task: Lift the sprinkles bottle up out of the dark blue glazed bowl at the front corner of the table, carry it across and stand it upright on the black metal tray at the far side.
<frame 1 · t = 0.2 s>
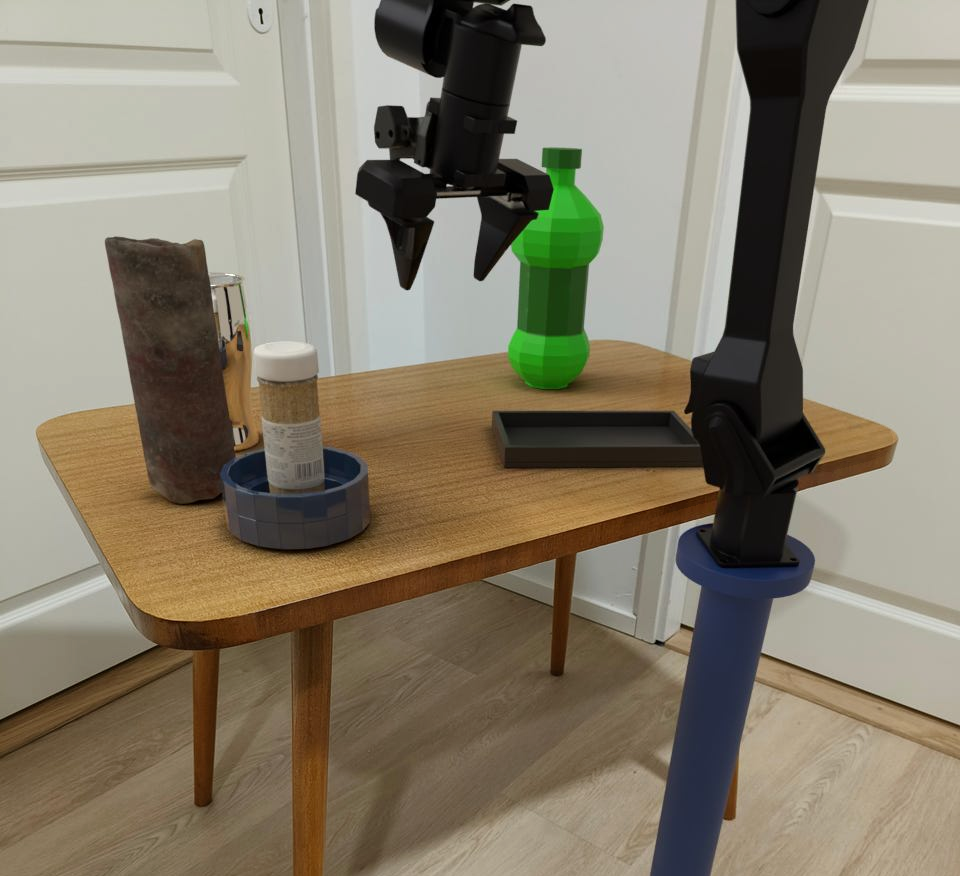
hand: (442, 283, 83), 14 cm above the table, tool pointing down, fingers open, 9 cm apart
bowl: (299, 522, 71), on the table
sprinkles bottle: (299, 521, 71), resting on bowl
plastic bottle: (546, 384, 108), on the table
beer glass: (227, 443, 87), on the table
brown stone pillar: (195, 490, 77), on the table
tray: (593, 447, 89), on the table
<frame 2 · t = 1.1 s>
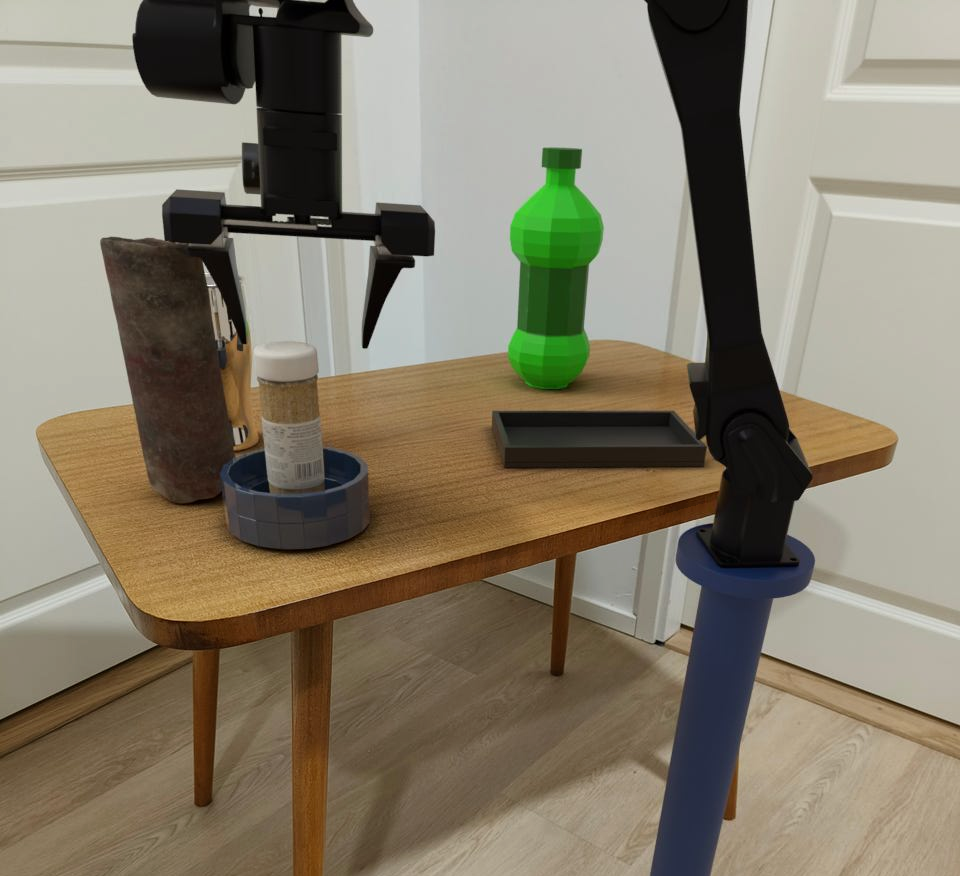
hand: (305, 345, 69), 13 cm above the table, tool pointing down, fingers open, 9 cm apart
nothing on the table moved.
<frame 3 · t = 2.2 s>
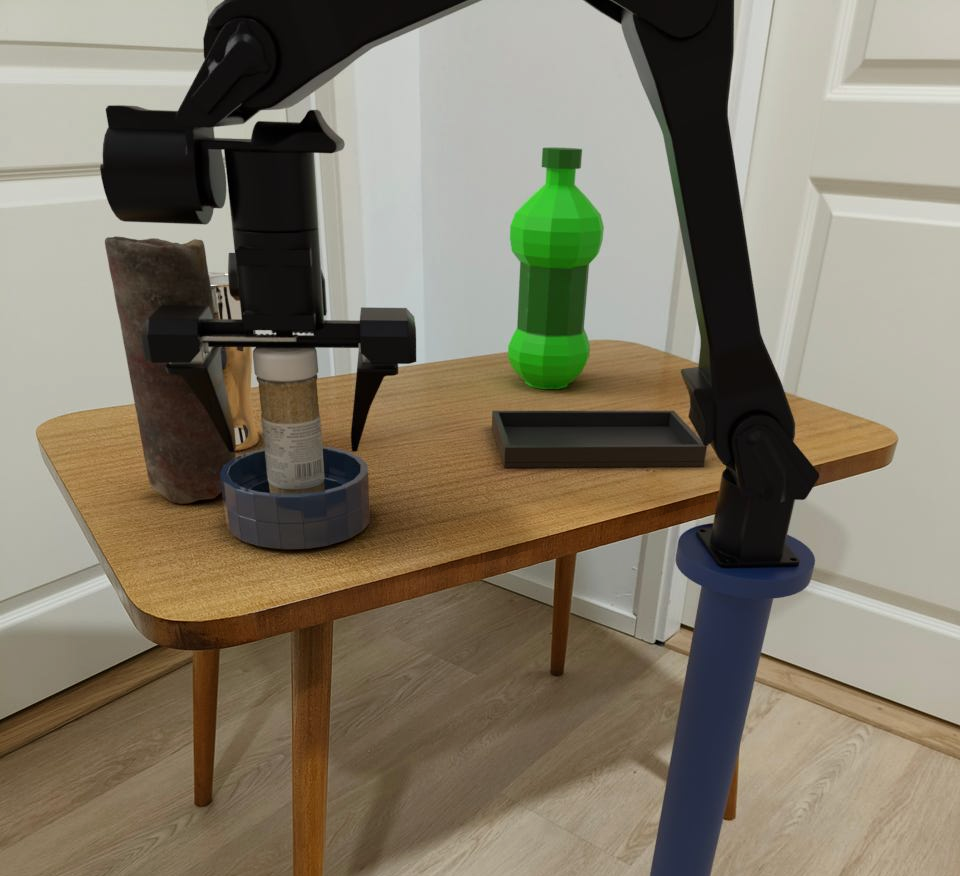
hand: (294, 450, 68), 6 cm above the table, tool pointing down
sprinkles bottle: (299, 521, 71), resting on bowl, touching gripper
everything else where it was.
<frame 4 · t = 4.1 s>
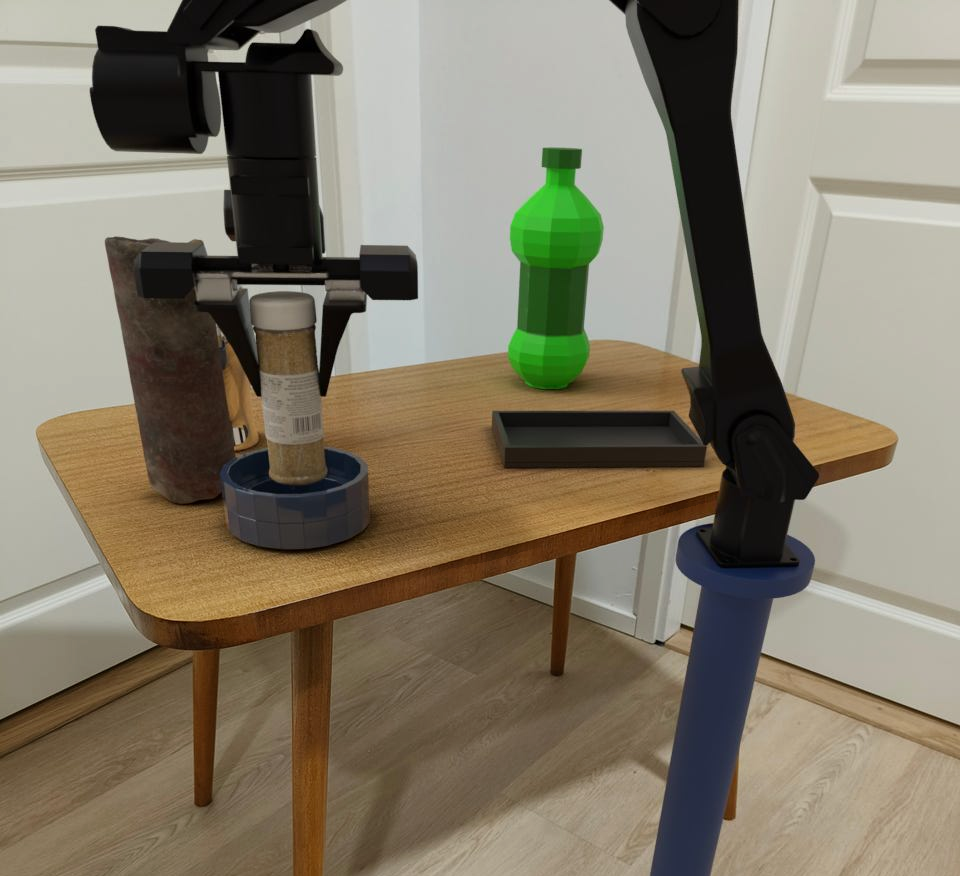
hand: (292, 395, 66), 10 cm above the table, tool pointing down, fingers closed on sprinkles bottle, 4 cm apart
sprinkles bottle: (298, 479, 70), point 4 cm above the table, touching gripper
everything else where it was.
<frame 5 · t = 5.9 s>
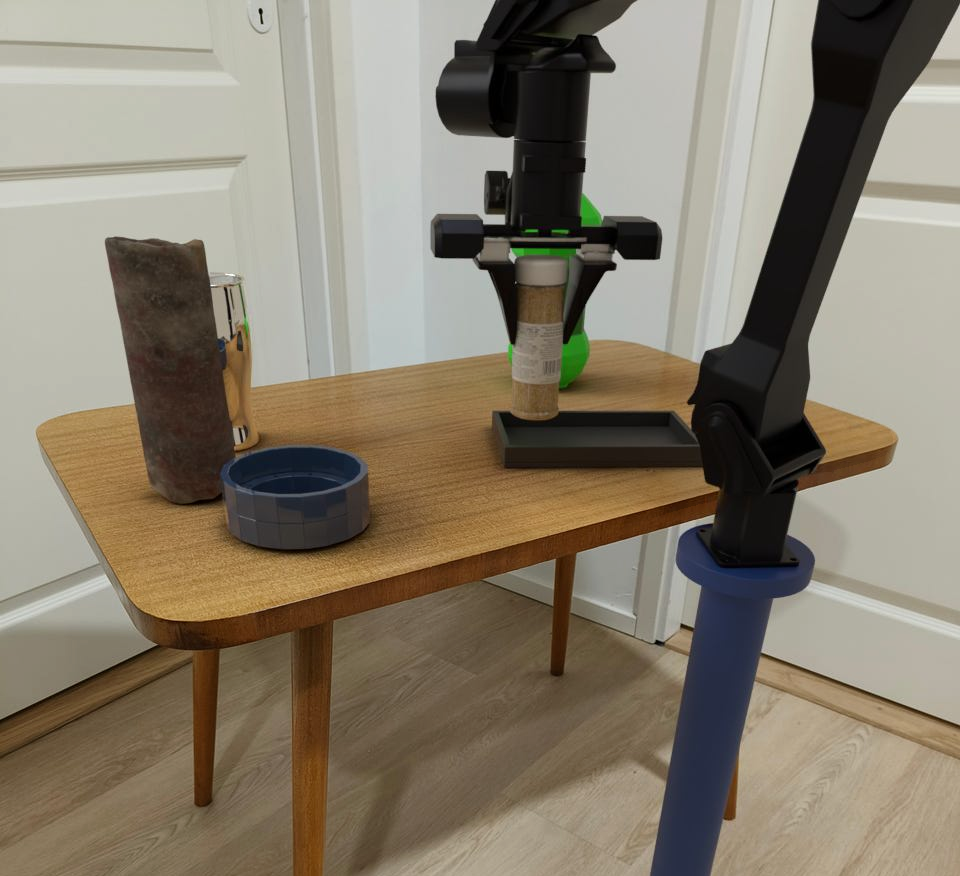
hand: (538, 343, 79), 11 cm above the table, tool pointing down, fingers closed on sprinkles bottle, 4 cm apart
sprinkles bottle: (533, 416, 82), point 5 cm above the table, touching gripper
everything else where it was.
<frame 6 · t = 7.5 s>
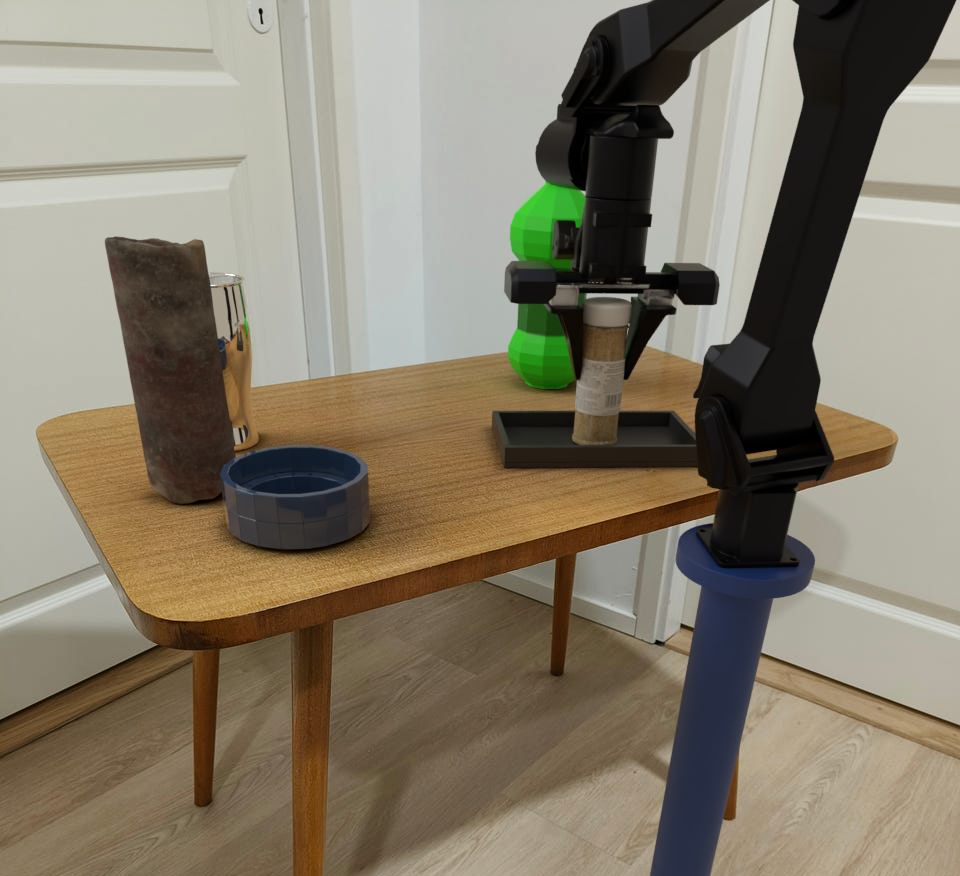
hand: (601, 378, 85), 7 cm above the table, tool pointing down, fingers closed on sprinkles bottle, 4 cm apart
sprinkles bottle: (593, 444, 89), resting on tray, touching gripper
everything else where it was.
when the fingers open (7 cm above the table, at t = 7.8 s): sprinkles bottle stays where it is, resting on tray.
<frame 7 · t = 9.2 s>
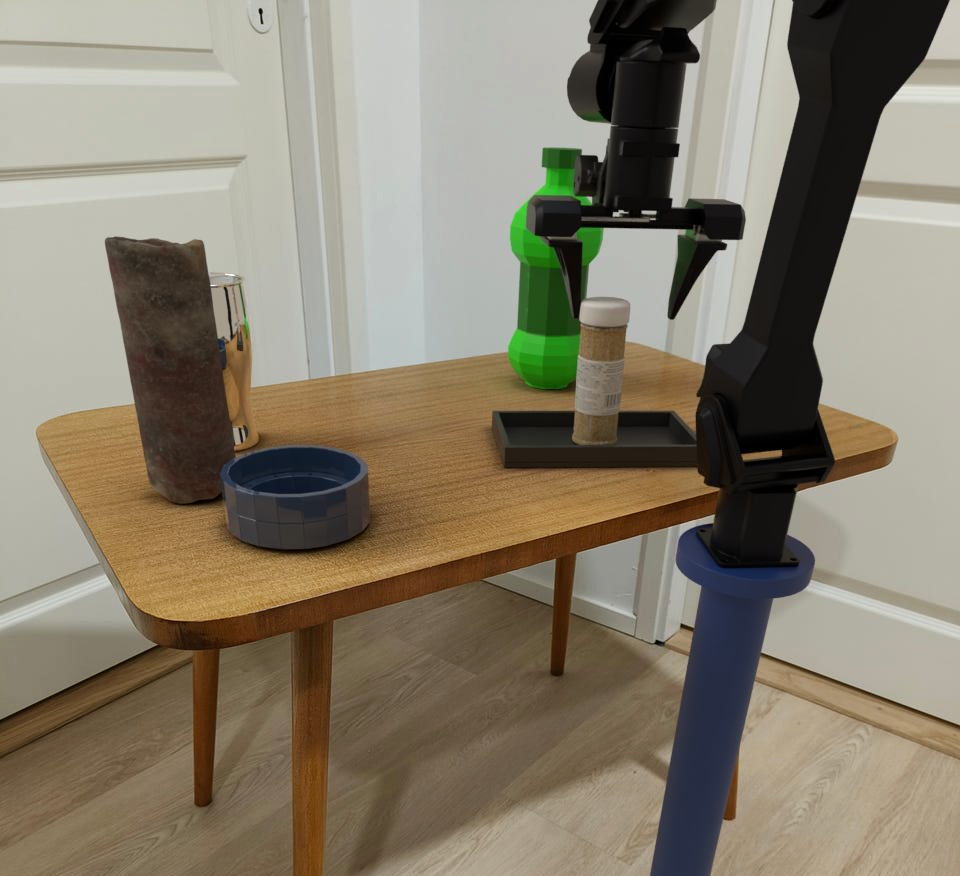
hand: (623, 318, 84), 12 cm above the table, tool pointing down, fingers open, 9 cm apart
sprinkles bottle: (593, 444, 89), resting on tray, touching gripper
everything else where it was.
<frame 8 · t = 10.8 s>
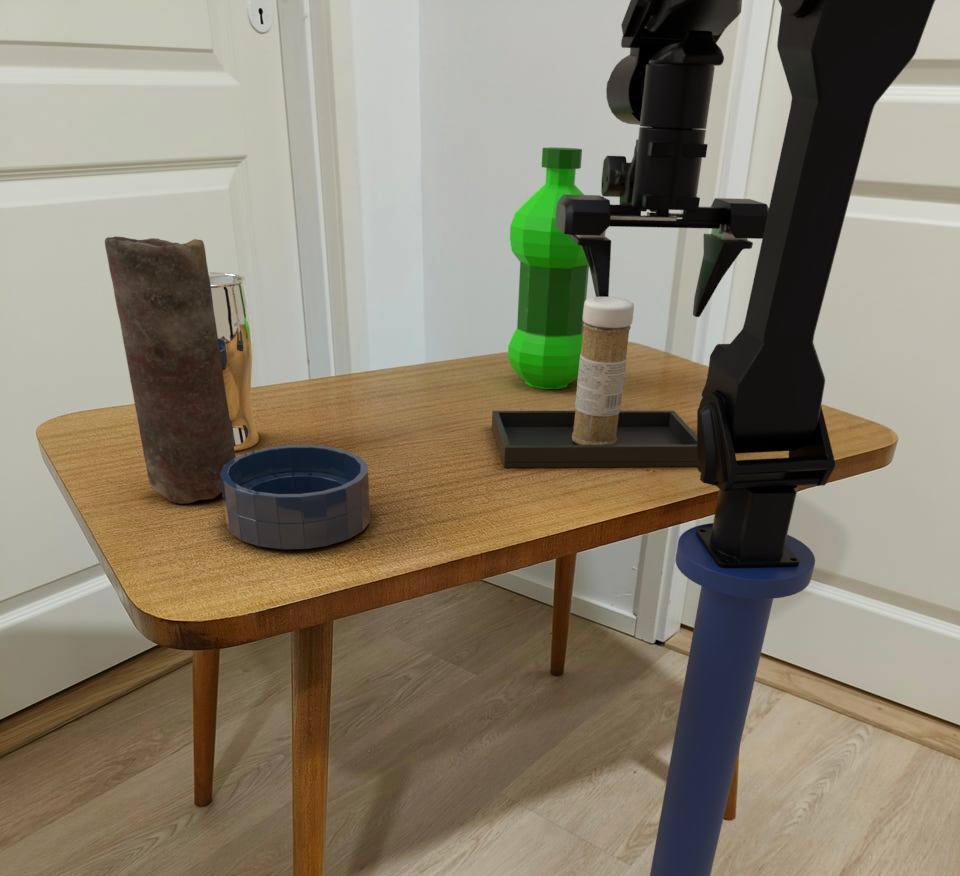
hand: (649, 315, 86), 12 cm above the table, tool pointing down, fingers open, 9 cm apart
nothing on the table moved.
at the end: sprinkles bottle inside the target area in the tray (0.1 cm from its centre), point 0.4 cm above the tray's base; sprinkles bottle tilted 2°; the gripper is holding nothing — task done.
